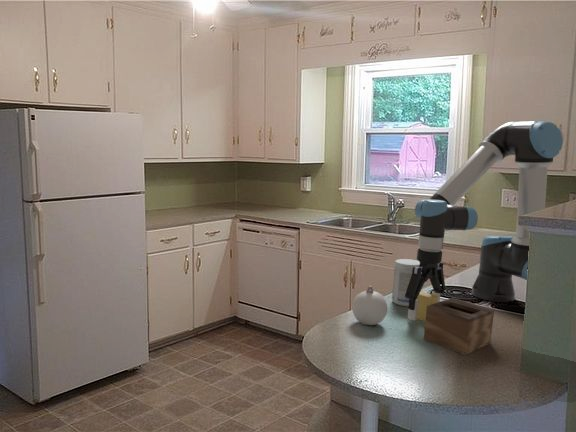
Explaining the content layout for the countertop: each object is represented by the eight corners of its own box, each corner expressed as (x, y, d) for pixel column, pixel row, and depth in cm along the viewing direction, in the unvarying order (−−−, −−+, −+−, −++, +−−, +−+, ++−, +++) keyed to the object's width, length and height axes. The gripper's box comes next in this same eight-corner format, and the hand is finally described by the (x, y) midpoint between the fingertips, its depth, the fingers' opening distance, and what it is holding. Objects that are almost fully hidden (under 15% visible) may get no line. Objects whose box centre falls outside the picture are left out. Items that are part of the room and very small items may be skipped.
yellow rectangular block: (416, 314, 175) (419, 290, 174) (435, 320, 170) (438, 296, 168) (410, 316, 172) (413, 292, 171) (429, 323, 167) (432, 298, 166)
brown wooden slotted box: (449, 329, 162) (452, 297, 161) (490, 343, 153) (494, 309, 151) (423, 339, 153) (426, 305, 151) (465, 355, 143) (469, 319, 142)
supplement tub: (425, 305, 185) (429, 263, 183) (405, 308, 180) (409, 266, 178) (405, 297, 193) (408, 257, 191) (385, 300, 188) (389, 259, 186)
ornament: (360, 331, 157) (363, 291, 155) (346, 319, 166) (349, 281, 164) (391, 328, 160) (395, 290, 158) (375, 317, 170) (378, 280, 168)
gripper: (440, 243, 179) (433, 305, 182) (397, 250, 162) (390, 319, 165) (460, 247, 173) (453, 311, 176) (418, 255, 157) (411, 326, 160)
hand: (423, 315), depth 171 cm, fingers open, 12 cm apart
